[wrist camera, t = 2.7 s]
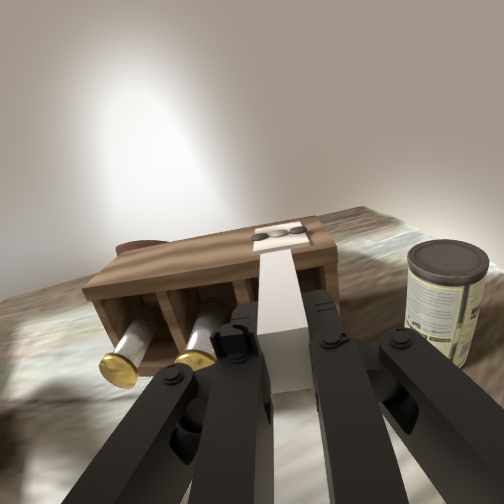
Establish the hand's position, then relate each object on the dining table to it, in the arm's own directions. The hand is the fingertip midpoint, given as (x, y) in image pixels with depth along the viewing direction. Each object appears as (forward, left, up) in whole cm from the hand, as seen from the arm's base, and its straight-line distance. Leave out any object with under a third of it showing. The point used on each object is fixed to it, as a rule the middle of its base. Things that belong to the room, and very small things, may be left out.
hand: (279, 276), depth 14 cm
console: (-19, +16, -21) cm, 33 cm away
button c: (-24, +4, -16) cm, 29 cm away
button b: (-15, +8, -16) cm, 23 cm away
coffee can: (+12, +19, -21) cm, 31 cm away
